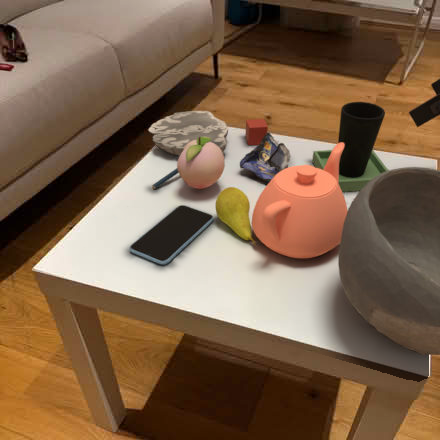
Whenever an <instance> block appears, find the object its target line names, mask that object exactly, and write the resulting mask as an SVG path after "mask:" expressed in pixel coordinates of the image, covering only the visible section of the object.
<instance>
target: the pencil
mask: <svg viewBox="0 0 440 440" xmlns="http://www.w3.org/2000/svg"><path fill="white" fill-rule="evenodd" d="M178 174H179V172H178V169H177V167H176V168H175V169H173V170H172V171H170V172H169V173H167V174H166V175H165V176H163V177H162V178H160V179H158V181H156V182H154V183H153V184H151V187H152V188H153V190H156V189H158V188H159V187H160V186H162V185H163V184H165V183H166V182H167V181H169V180H171V179H172V178H173V177H175V176H176V175H178Z"/></svg>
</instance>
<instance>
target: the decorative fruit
mask: <svg viewBox="0 0 440 440" xmlns="http://www.w3.org/2000/svg"><path fill="white" fill-rule="evenodd" d="M210 141H211V139H210V138H209V137H205V136H203V137H199V138H198V139H197V140H193V141H191V142H189V143H188V144H187V145H186V146H185V148H184V150H183V152H182V153H181V155H180V156H178V159H177V162H176V168H177V169H178V172H179V173H178V174H179V176H180V178H181V180H182V181H183V182H184V183H186V185H188V186H189V187H191V188H194V189H198V190H199V189H201V190H202V189H205V188H208V187H211V186H212V185H213V184H215V183H216V182H218V181H219V179H220V178H222V175H223V173H224V170H225V167H226V166H225V164H226V163H225V162H226V161H225V156H224V155H225V154H224V152H223V153H222V151H221V149H220V148H219V147H218V146H217V145H216V144H214V143H212V142H210Z"/></svg>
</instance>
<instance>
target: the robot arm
mask: <svg viewBox="0 0 440 440" xmlns="http://www.w3.org/2000/svg"><path fill="white" fill-rule="evenodd" d="M430 86H431V88H432V90H433V91H434V93H435V95H434V96H432V97H431V98H429V99H428V100H426V101H424V102H422V103H421V104H420V105H417V106H416V107H414V108H412V109H411V110H410V111H409V112H408V114H409V116H410V118H411V119H412V121H413V122H414V124H415V126H416V127H417V128H419V127H421V126H423V125H424V124H426V123H428V122H430V121H431V120H433V119H435V118H437V117H439V116H440V78H439V79H438V78H437V80H435V81H433V82H432V83H431V84H430Z"/></svg>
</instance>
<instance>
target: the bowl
mask: <svg viewBox="0 0 440 440" xmlns="http://www.w3.org/2000/svg"><path fill="white" fill-rule="evenodd" d="M388 170H389V171H386V172H383V173H381V174H379V175H378V176H376V177H374V178H373V179H371V180H370V181H369V182H368V183H367V184H366V185H365V186H364V187H363V188H362V189H361V190H360V191H358V193H357V194H356V195H355V197H354V199H353V200H352V201H351V203H350V204H349V205H350V206H349V207H348V208H347V210H348V212H347V215H346V218H345V221H344V224H343V230H342V236H341V242H340V243H339V249H338V261H337V262H338V264H337V265H338V271H339V278H340V282H341V285H342V288H343V291H344V295H345V296H346V298H347V299H348V301H349V302H350V304H351V305H352V307H354V309H355V310H356V311H357V312H358V313H359V315H360V316H362V318H363V319H364V320H365V321H366V322H367V323H368V324H369V325H371V326H372V327H374V328H375V329H376V331H377V332H378V333H380V334H382V335H384V336H386V337H387V338H388V339H390V340H392V341H393V342H394V343H396V344H397V345H400V346H402V347H403V348H405V349H407V350H411V351H413V352H416V353H419V354H421V355H425V356H426V355H427V356H440V170H439V169H436V168H430V167H423V166H422V167H421V166H409V167H399V168H392V169H388Z"/></svg>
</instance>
